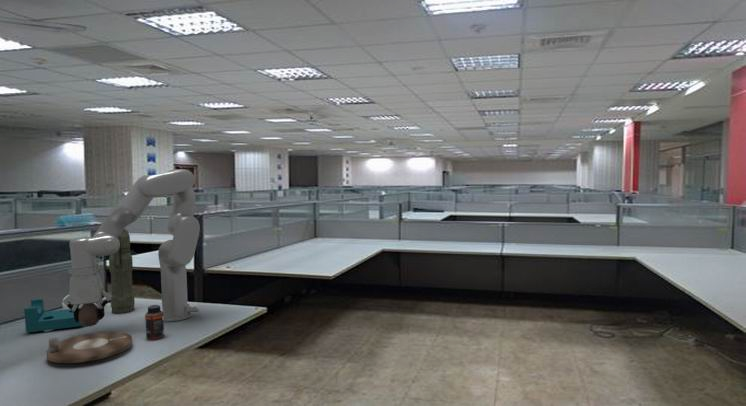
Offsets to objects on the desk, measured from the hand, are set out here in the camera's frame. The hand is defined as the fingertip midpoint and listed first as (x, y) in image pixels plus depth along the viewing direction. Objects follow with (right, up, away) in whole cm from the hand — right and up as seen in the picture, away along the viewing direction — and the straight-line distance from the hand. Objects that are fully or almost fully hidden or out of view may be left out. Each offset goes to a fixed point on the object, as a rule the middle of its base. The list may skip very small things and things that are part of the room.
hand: (89, 319), depth 173 cm
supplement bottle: (+25, -6, -3) cm, 26 cm away
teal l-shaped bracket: (-18, -6, +10) cm, 22 cm away
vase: (0, -2, 0) cm, 2 cm away
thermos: (-4, -4, +31) cm, 31 cm away
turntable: (+11, -5, -17) cm, 21 cm away
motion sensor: (-26, -5, +31) cm, 41 cm away
